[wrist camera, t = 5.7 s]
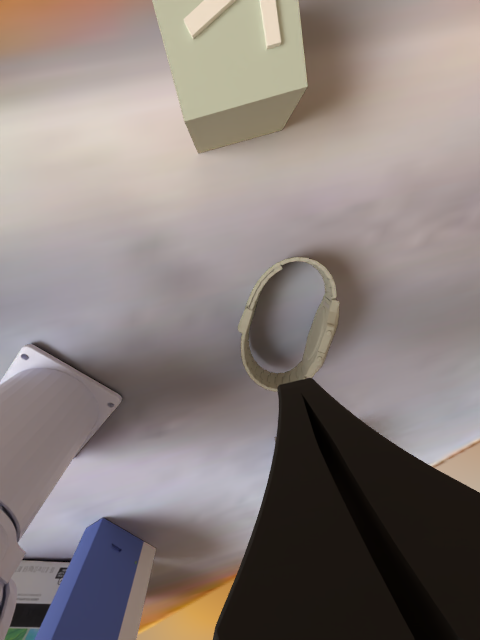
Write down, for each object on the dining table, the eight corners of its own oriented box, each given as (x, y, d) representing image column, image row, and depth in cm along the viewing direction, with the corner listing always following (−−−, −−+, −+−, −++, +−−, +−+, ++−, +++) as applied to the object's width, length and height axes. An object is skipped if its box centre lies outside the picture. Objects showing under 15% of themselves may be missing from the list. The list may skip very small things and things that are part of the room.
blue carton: (85, 527, 27) (-17, 749, 15) (103, 516, 26) (9, 737, 15) (139, 558, 29) (85, 767, 18) (156, 548, 28) (111, 758, 17)
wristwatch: (299, 372, 21) (319, 416, 16) (225, 358, 20) (223, 399, 15) (341, 264, 17) (383, 280, 13) (255, 242, 17) (265, 249, 12)
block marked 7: (198, 153, 14) (183, 119, 10) (169, 42, 13) (133, -70, 8) (281, 130, 14) (309, 83, 9) (264, 13, 12) (287, -121, 8)
